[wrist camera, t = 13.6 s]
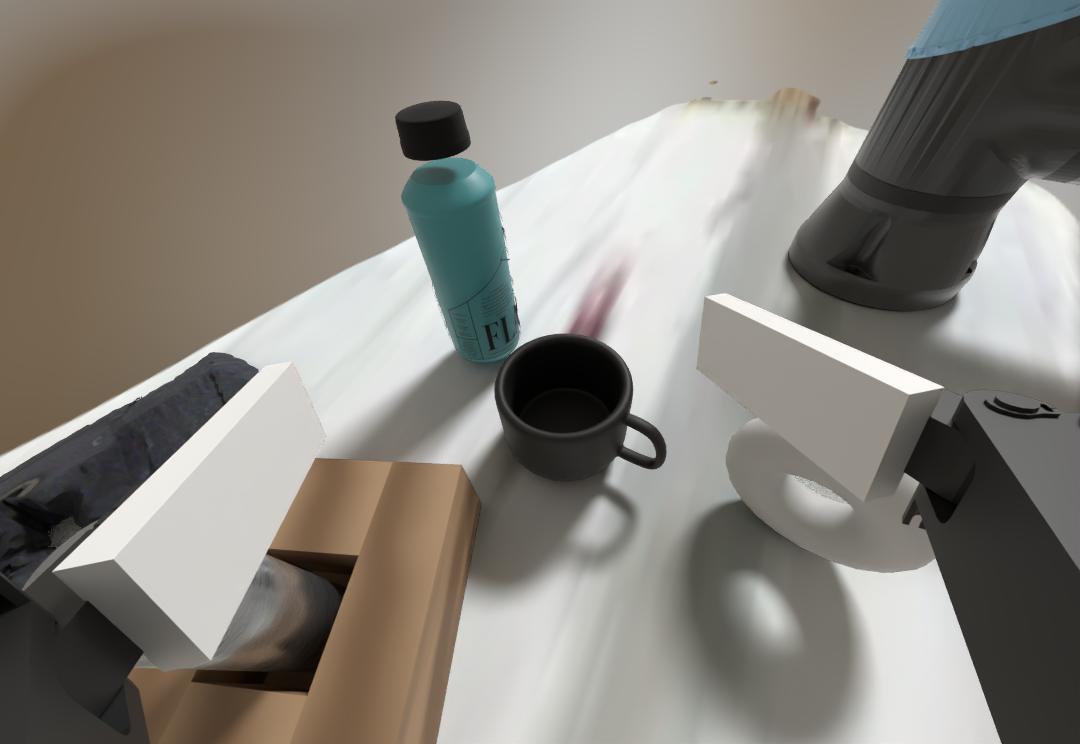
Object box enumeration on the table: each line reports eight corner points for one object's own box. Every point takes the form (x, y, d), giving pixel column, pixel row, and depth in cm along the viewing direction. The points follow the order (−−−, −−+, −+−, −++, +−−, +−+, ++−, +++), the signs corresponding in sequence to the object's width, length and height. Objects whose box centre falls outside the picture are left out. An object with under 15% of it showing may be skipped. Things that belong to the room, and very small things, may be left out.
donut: (697, 489, 26) (746, 405, 19) (723, 456, 28) (777, 366, 20) (859, 606, 21) (1014, 557, 14) (879, 558, 23) (1030, 491, 15)
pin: (378, 591, 23) (202, 510, 12) (352, 676, 20) (98, 673, 9) (316, 586, 23) (91, 503, 12) (283, 669, 21) (-36, 656, 10)
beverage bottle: (495, 386, 34) (428, 133, 18) (442, 358, 36) (344, 118, 21) (537, 341, 37) (508, 95, 22) (484, 318, 40) (427, 86, 24)
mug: (485, 453, 29) (464, 399, 24) (548, 376, 34) (542, 316, 29) (628, 541, 25) (642, 497, 19) (679, 436, 29) (702, 378, 24)
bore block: (481, 503, 27) (461, 464, 22) (413, 863, 17) (351, 928, 12) (299, 493, 28) (246, 454, 24) (135, 815, 18) (-14, 856, 14)
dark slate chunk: (308, 409, 34) (276, 376, 31) (-4, 664, 23) (-111, 659, 20) (226, 348, 41) (192, 314, 37) (-50, 525, 29) (-138, 502, 26)
